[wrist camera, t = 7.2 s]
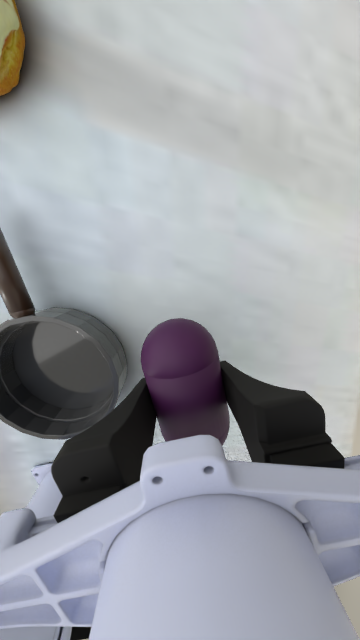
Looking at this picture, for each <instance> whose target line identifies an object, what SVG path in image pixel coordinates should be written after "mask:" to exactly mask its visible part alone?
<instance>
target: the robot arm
mask: <svg viewBox="0 0 360 640" xmlns="http://www.w3.org/2000/svg"><path fill="white" fill-rule="evenodd" d="M220 366H221V372H222V378H223V383H224V389H225V395H226V400H227V403H228V405H229V407H230V409H231V411H232V413H233V415H234V417H235V419H236V421H237V423H238V425H239V428H240V430H241V433H242V435H243V438H244V441H245V443H246V446H247V449H248V452H249V455H250V457H251V460H252V462H244V461H230V460H227V459H226V458H225V454H224V450H223V447H222V445H221V443H220V441H219V440H218V439H217V438H215V437H213V436H211V435H196V436H191V437H187V438H182V439H177V440H172V441H167V442H162V443H158V444H155V445H153V446H152V444H153V436H154V430H155V423H156V412H155V409H154V406H153V403H152V399H151V396H150V393H149V389H148V386H147V383H146V379H145V378H142V379H141V380H140V382H139V383H138V384H137V385H136V386H135V388H134V389H133V390H132V391H131V392H130V394H129V395H128V396H127V397H126V398H125V399H124V400H123V401H122V402H121V403H120V404H119V405H118V406H117V407H116V408H115V409H114V410H113V411H112V412H110V413H109V414H108V415H107V416H105V417H104V418H103V419H101V420H100V421H99V422H97V423H96V424H94V425H93V426H91V427H90V428H88V429H87V430H85V431H83V432H82V433H80V434H78V435H76V436H74V437H72V438H71V439H69V440H67V441H66V442H65V444H64V445H63V447H62V448H61V450H60V452H59V453H58V455H57V457H56V458H55V460H54V461H53V463H50V464H45V465H40V466H35V467H34V468H33V469H32V470H31V472H32V474H33V476H34V478H35V479H36V481H37V483H38V485H39V487H38V488H37V490H36V491H35V493H34V495H33V496H32V498H31V500H30V501H29V503H28V505H27V506H26V508H22V509H17V510H12V511H7V512H4V513H2V515H1V516H0V640H70V637H71V631H72V627H91V631H90V635H89V640H360V639H359V637H358V635H357V633H356V631H355V629H354V627H353V625H352V623H351V621H350V619H349V617H348V615H347V613H346V611H345V609H344V607H343V605H342V603H341V601H340V599H339V597H338V595H337V593H336V591H335V589H334V586H336V585H339V584H341V583H344V582H346V581H349V580H351V579H354V578H357V577H359V576H360V455H358V456H352V457H347V458H344V457H343V456H342V455H341V454H340V453H339V451H338V450H337V449H336V448H335V447H334V446H333V445H332V444H331V442H332V440H331V438H330V437H329V436H328V435H327V434H326V432H325V413H324V410H323V408H322V406H321V405H320V404H319V403H317V402H316V401H315V400H314V399H313V398H312V397H311V396H310V395H309V394H307V393H306V392H305V391H299V390H291V389H286V388H281V387H277V386H273V385H270V384H267V383H264V382H261V381H259V380H257V379H254V378H252V377H250V376H248V375H246V374H244V373H243V372H241V371H239V370H238V369H236V368H235V367H233V366H232V365H231V364H229V363H228V362H226V361H221V362H220Z"/></svg>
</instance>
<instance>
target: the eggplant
mask: <svg viewBox="0 0 360 640" xmlns="http://www.w3.org/2000/svg"><path fill="white" fill-rule="evenodd" d="M141 364H142V369H143V373H144V376H145V379H146V383H147V386H148V389H149V393H150V396H151V399H152V403H153V406H154V409H155V412H156V416H157V419H158V422H159V426H160V429H161V432H162V435H163V437H164V439H165V441H166V442H167V441H172V440H177V439H182V438H187V437H191V436H196V435H211V436H213V437H215V438H217V439H218V440H219V441H220V443H221V445H223V444H224V442H225V440H226V438H227V435H228V431H229V424H230V421H229V411H228V406H227V400H226V395H225V389H224V383H223V378H222V372H221V366H220V361H219V355H218V350H217V347H216V344H215V341H214V339H213V337H212V335H211V334H210V333H209V332H208V331H207V330H206V329H205V328H204V327H203V326H202V325H200V324H199V323H197V322H194V321H192V320H188V319H183V318H178V319H170V320H167V321H165V322H162V323H160V324H159V325H157V326H156V327H155V328H154V329H153V330H152V331H151V332H150V333H149V334H148V336H147V337H146V339H145V341H144V343H143V347H142V351H141Z"/></svg>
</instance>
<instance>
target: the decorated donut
mask: <svg viewBox="0 0 360 640" xmlns="http://www.w3.org/2000/svg"><path fill="white" fill-rule="evenodd" d="M24 48H25V36H24V32H23V30H22V24H21V20H20V17H19V13H18V10H17V7H16V3H15V0H0V96H1V95H4V94H7V93H9V92H11V90H12V88H13V87H15V86H16V85H17V84H18V82H19V71H20V69H21V66H22V61H23V53H24Z"/></svg>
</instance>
